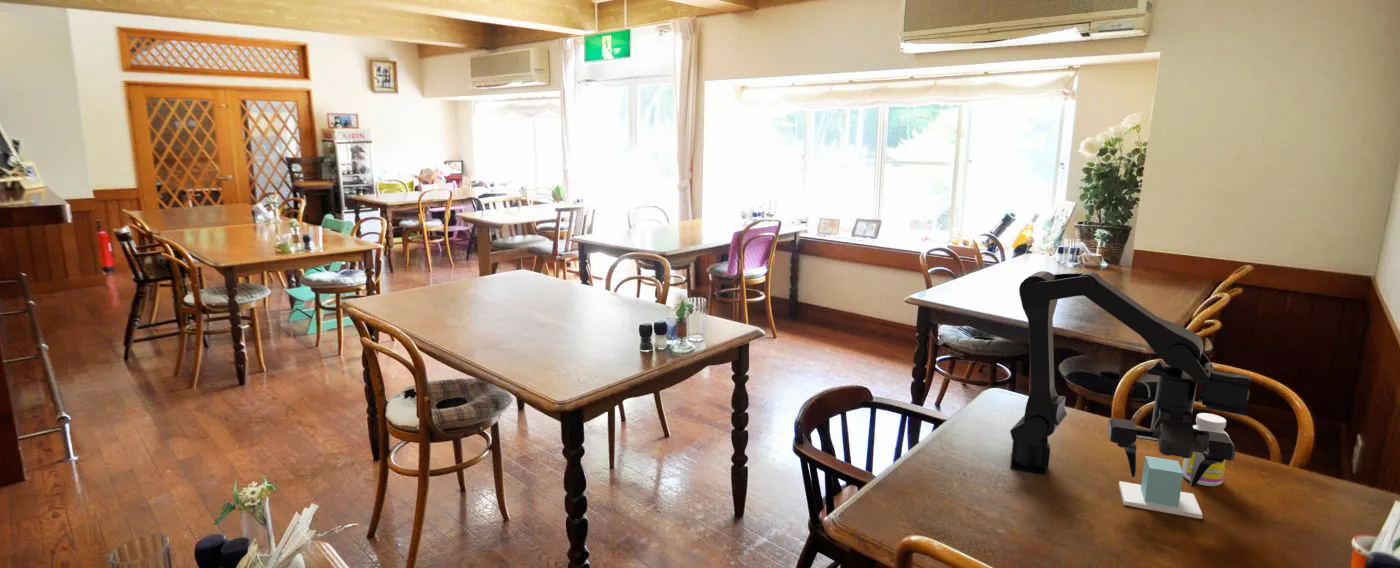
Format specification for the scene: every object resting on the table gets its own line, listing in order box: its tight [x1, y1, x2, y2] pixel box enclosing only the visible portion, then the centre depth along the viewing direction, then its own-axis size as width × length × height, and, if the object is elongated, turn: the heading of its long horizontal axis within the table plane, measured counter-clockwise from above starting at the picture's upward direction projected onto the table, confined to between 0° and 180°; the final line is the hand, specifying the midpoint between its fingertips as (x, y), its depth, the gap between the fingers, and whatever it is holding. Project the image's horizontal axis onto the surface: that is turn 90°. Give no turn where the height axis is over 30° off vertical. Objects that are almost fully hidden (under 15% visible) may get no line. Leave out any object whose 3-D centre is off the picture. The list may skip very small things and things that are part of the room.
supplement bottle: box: [1181, 412, 1230, 487], centre depth 139 cm, size 7×7×13 cm
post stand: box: [1118, 480, 1204, 520], centre depth 131 cm, size 12×8×6 cm, turn 66°
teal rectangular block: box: [1140, 455, 1184, 507], centre depth 131 cm, size 5×5×7 cm
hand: (1161, 481), depth 131 cm, fingers open, 9 cm apart
